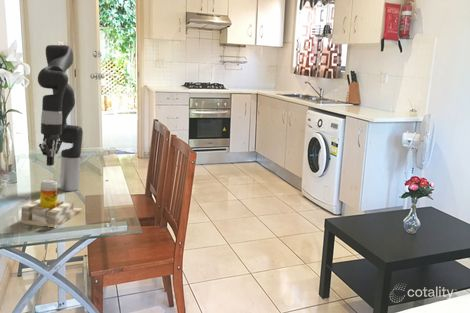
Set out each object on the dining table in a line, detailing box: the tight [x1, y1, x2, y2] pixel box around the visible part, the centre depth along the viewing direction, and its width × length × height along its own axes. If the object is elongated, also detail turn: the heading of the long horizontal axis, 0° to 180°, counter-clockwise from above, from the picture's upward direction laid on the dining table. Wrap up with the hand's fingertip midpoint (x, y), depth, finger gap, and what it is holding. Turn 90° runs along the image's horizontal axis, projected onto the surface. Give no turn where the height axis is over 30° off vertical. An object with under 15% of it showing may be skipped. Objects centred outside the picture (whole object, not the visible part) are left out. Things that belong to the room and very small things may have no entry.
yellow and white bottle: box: [39, 178, 58, 211], centre depth 164 cm, size 6×6×15 cm
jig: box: [20, 198, 83, 228], centre depth 169 cm, size 22×14×6 cm, turn 174°
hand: (50, 165), depth 162 cm, fingers closed
